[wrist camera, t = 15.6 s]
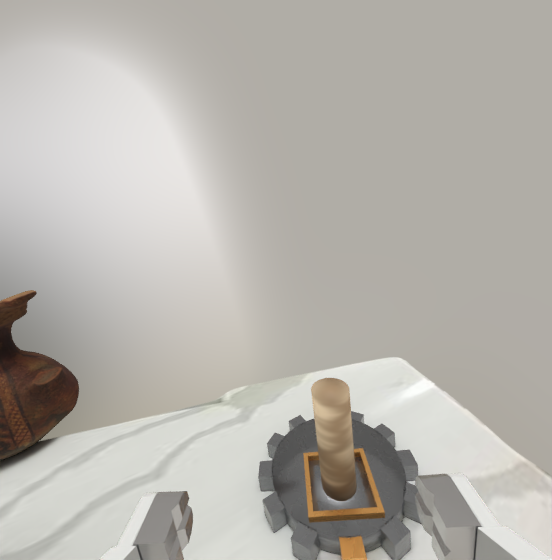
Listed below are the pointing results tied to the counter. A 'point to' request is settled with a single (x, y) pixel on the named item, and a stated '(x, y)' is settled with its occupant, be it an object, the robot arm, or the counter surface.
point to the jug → (29, 386)
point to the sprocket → (340, 514)
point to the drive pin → (334, 438)
